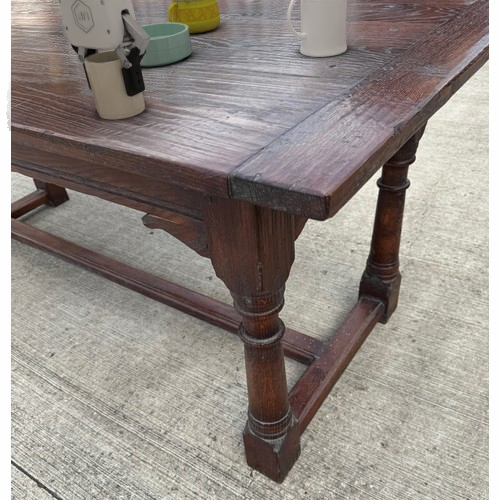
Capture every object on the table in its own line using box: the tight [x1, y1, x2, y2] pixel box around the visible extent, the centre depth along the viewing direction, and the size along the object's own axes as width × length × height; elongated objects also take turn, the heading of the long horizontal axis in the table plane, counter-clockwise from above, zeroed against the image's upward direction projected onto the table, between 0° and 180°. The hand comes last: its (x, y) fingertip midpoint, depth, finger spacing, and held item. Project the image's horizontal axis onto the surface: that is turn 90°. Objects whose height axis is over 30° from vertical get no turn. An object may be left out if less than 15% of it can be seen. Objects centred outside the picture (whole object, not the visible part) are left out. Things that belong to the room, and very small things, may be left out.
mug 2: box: [286, 0, 348, 58], centre depth 90 cm, size 12×8×12 cm
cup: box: [83, 49, 146, 120], centre depth 74 cm, size 7×7×8 cm
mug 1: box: [167, 0, 221, 34], centre depth 112 cm, size 13×11×12 cm
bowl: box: [124, 22, 193, 68], centre depth 98 cm, size 13×13×5 cm
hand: (117, 89), depth 75 cm, fingers closed on cup, 7 cm apart
